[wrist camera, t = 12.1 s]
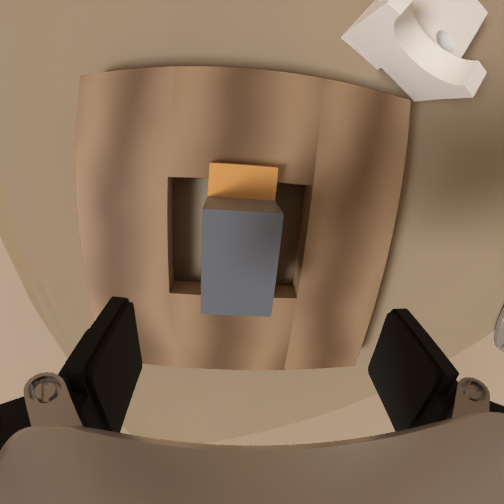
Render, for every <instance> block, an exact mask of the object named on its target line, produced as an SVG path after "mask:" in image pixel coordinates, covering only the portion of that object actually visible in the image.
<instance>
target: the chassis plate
mask: <svg viewBox="0 0 504 504" xmlns="http://www.w3.org/2000/svg"><path fill="white" fill-rule="evenodd" d="M410 104H411V100H408V99H405V98H402V97H399V96H395V95H392V94H388V93H385V92H381V91H378V90H374V89H370V88H366V87H362V86H358V85H354V84H349V83H345V82H340V81H335V80H330V79H325V78H320V77H314V76H308V75H302V74H295V73H288V72H280V71H271V70H262V69H251V68H237V67H215V66H171V67H150V68H136V69H125V70H116V71H108V72H100V73H93V74H87V75H81V76H80V85H79V95H78V108H77V125H76V190H77V208H78V221H79V231H80V241H81V249H82V257H83V264H84V271H85V277H86V283H87V289H88V295H89V300H90V305H91V310H92V315H93V319H94V321H95V320H96V319H97V317H98V316H99V314H100V313H101V311H102V310H103V308H104V307H105V306H106V304H107V303H108V301H109V300H110V299H111V297H112V296H116V297H125V298H128V299H129V302H132V303H133V304H134V310H135V317H136V325H137V331H138V338H139V344H140V350H141V356H142V363H145V364H154V365H164V366H176V367H189V368H206V369H232V370H290V369H315V368H332V367H346V366H355V364H356V361H357V358H358V355H359V353H360V350H361V347H362V344H363V341H364V338H365V335H366V332H367V329H368V326H369V322H370V319H371V316H372V313H373V309H374V306H375V303H376V299H377V296H378V292H379V288H380V285H381V281H382V277H383V273H384V269H385V265H386V261H387V257H388V253H389V249H390V244H391V240H392V235H393V230H394V225H395V220H396V215H397V210H398V204H399V199H400V193H401V186H402V180H403V173H404V166H405V158H406V150H407V141H408V131H409V119H410ZM210 162H218V163H235V164H249V165H262V166H273V167H278V177H277V182H278V183H290V184H301V185H305V191H304V199H303V208H302V216H301V224H300V231H299V239H298V246H297V254H296V261H295V268H294V275H293V281H292V285H275V291H274V299H273V306H272V313H271V317H261V316H233V315H212V314H201V282H195V281H176V280H174V266H173V178H174V177H188V178H209V164H210Z"/></svg>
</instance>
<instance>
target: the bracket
mask: <svg viewBox="0 0 504 504" xmlns="http://www.w3.org/2000/svg"><path fill="white" fill-rule="evenodd" d="M487 14H488V12H487V11H486V10H485V9H484V7H483V6H482V5H481V4H480V2H479V1H478V0H375V1H374V2H373V3H372V4H371V5H370V6H369V7H368V8H367V9H366V10H365V12H364V13H363V14H362V15H361V16H360V17H359V18H358V19H357V20H356V21H355V22H354V23H353V24H352V26H351V27H350V28H349V29H348V30H347V31H346V32H345V33H344V34H343V35H342V37H341V39H343V40H344V41H345V42H346V43H348V44H349V45H350V46H351V47H352V48H354V49H355V50H356V51H357V52H358V53H359V54H361V55H362V56H363V57H364V58H365V59H366V60H367V61H369V62H370V63H371V64H372V65H373V66H374V67H375V68H376V69H377V70H378V69H380V68H382V69H383V70H384V71H385V72H386V73H387V74H388V75H389V76H390V77H391V78H392V79H393V80H394V81H395V82H396V83H397V84H398V85H399V86H400V87H401V88H402V89H403V90H404V91H405V92H406V93H407V94H408V95H409V96H410V98H411V99H412V100H413V101H414V102H416V101H427V100H439V99H454V98H473V97H474V95H475V93H476V92H477V90H478V88H479V86H480V84H481V83H482V81H483V79H484V77H485V75H486V73H487V72H486V71H485V69H484V68H483V66H482V65H481V63H480V62H479V61H471V60H465V59H462V56H463V54H464V53H465V51H466V50H467V48H468V46H469V45H470V43H471V41H472V40H473V38H474V36H475V34H476V33H477V31H478V29H479V28H480V26H481V24H482V22H483V21H484V19H485V17H486V15H487Z"/></svg>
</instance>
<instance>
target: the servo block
mask: <svg viewBox="0 0 504 504" xmlns="http://www.w3.org/2000/svg"><path fill="white" fill-rule="evenodd" d="M277 177H278V167H273V166H262V165H249V164H235V163H218V162H210V164H209V181H208V197H207V200H206V202H205V205H204V207H203V219H202V250H201V314H212V315H233V316H261V317H271V313H272V306H273V299H274V291H275V284H276V276H277V268H278V261H279V253H280V244H281V236H282V228H283V220H284V213H283V212H282V210H281V209H280V207H279V206H278V204H277V203H276V201H275V197H276V187H277Z"/></svg>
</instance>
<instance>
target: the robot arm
mask: <svg viewBox="0 0 504 504" xmlns="http://www.w3.org/2000/svg"><path fill="white" fill-rule="evenodd" d="M494 342H495V345H496V346H497V347H498V348H499V350H501V351H504V307H503V309H502V311H501V313H500V316H499V318H498V321H497V324H496V328H495V334H494ZM141 369H142V356H141V350H140V344H139V338H138V331H137V325H136V317H135V310H134V304H133V303H132V302H129V299H128V298H125V297H116V296H112V297H111V299H110V300H109V301H108V303H107V304H106V306H105V307H104V308H103V310H102V311H101V313H100V314H99V316H98V317H97V319H96V320H95V321H94V323H93V324H92V326H91V327H90V329H88V330H87V331H86V332H85V334H84V335H83V337H82V338H81V340H80V341H79V343H78V344H77V346H76V347H75V349H74V350H73V352H72V353H71V355H70V356H69V358H68V360H67V361H66V363H65V365H64V366H63V368H62V369H61V371H60V372H59V374H58V375H57V374H54V373H48V372H46V373H40V374H38V375H35V376H34V377H32V378H31V379H29V381H28V382H27V383H26V385H25V387H24V397H21V398H19V399H15V400H12V401H9V402H6V403H3V404H0V504H504V406H502V405H499V404H496V403H494V402H491V401H490V394H489V391H488V389H487V387H486V386H485V385H484V384H483V383H482V382H480V381H479V380H477V379H475V378H463V379H461V380H460V381H459V382H457V380H456V378H457V377H458V375H459V373H458V371H457V370H456V369H455V367H454V366H453V365H452V363H451V362H450V361H449V360H448V358H447V357H446V356H445V354H444V353H443V352H442V351H441V349H440V348H439V347H438V346H437V344H436V343H435V342H434V341H433V339H432V338H431V337H430V336H429V334H428V333H427V332H426V331H425V330H424V328H423V327H422V326H421V325H420V324H419V322H418V321H417V320H416V319H415V318H414V316H413V315H412V314H411V313H410V312H409V311H408V310H407V309H393V310H392V311H391V312H390V313H388V314H387V316H386V319H385V322H384V325H383V328H382V331H381V334H380V337H379V339H378V342H377V345H376V348H375V350H374V353H373V356H372V358H371V361H370V364H369V367H368V372H369V375H370V377H371V380H372V382H373V384H374V386H375V388H376V390H377V392H378V394H379V396H380V398H381V401H382V403H383V405H384V407H385V409H386V411H387V413H388V416H389V418H390V420H391V422H392V425H393V427H394V429H395V431H396V432H391V433H386V434H381V435H375V436H369V437H363V438H357V439H350V440H341V441H333V442H324V443H313V444H298V445H276V446H236V445H235V446H233V445H213V444H199V443H188V442H178V441H170V440H162V439H154V438H147V437H141V436H134V435H129V434H122V433H120V430H121V427H122V424H123V421H124V418H125V415H126V412H127V409H128V406H129V403H130V400H131V397H132V394H133V391H134V389H135V386H136V383H137V380H138V377H139V374H140V372H141Z"/></svg>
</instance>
